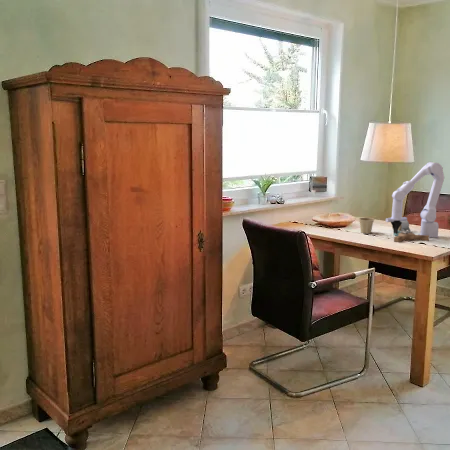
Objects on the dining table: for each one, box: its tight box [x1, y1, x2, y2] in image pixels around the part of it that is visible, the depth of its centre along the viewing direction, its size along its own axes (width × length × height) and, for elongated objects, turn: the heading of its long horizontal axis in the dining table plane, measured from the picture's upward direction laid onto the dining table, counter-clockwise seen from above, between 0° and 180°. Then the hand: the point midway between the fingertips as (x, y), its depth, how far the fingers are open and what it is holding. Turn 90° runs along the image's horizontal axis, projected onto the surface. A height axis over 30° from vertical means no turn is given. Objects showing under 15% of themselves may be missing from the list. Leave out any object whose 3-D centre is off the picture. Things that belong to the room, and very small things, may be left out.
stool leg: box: [393, 230, 408, 237], centre depth 292 cm, size 13×2×4 cm, turn 13°
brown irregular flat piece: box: [393, 232, 430, 243], centre depth 284 cm, size 22×13×3 cm, turn 92°
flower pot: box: [358, 217, 375, 234], centre depth 304 cm, size 9×9×9 cm
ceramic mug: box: [391, 220, 412, 233], centre depth 307 cm, size 11×8×8 cm
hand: (395, 233), depth 294 cm, fingers closed
